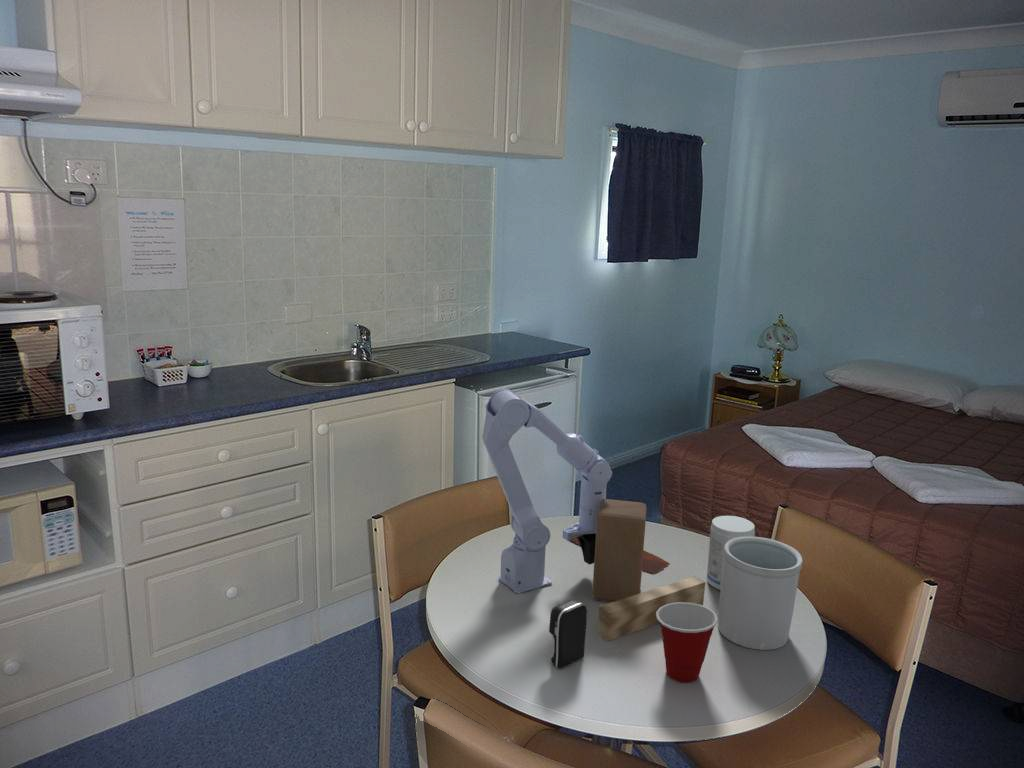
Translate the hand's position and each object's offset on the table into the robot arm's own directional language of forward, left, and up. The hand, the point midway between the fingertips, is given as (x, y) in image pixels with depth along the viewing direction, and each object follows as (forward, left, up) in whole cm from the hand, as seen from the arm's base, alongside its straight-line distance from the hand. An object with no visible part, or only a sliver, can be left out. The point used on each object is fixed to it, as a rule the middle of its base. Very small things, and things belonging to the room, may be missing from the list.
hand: (588, 562), depth 180 cm
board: (-1, -23, -3) cm, 23 cm away
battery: (-25, -25, -3) cm, 36 cm away
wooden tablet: (+14, +6, -4) cm, 15 cm away
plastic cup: (-9, -39, -3) cm, 40 cm away
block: (0, -10, -3) cm, 11 cm away
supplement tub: (+25, -19, -3) cm, 32 cm away
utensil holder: (+14, -36, -3) cm, 39 cm away
